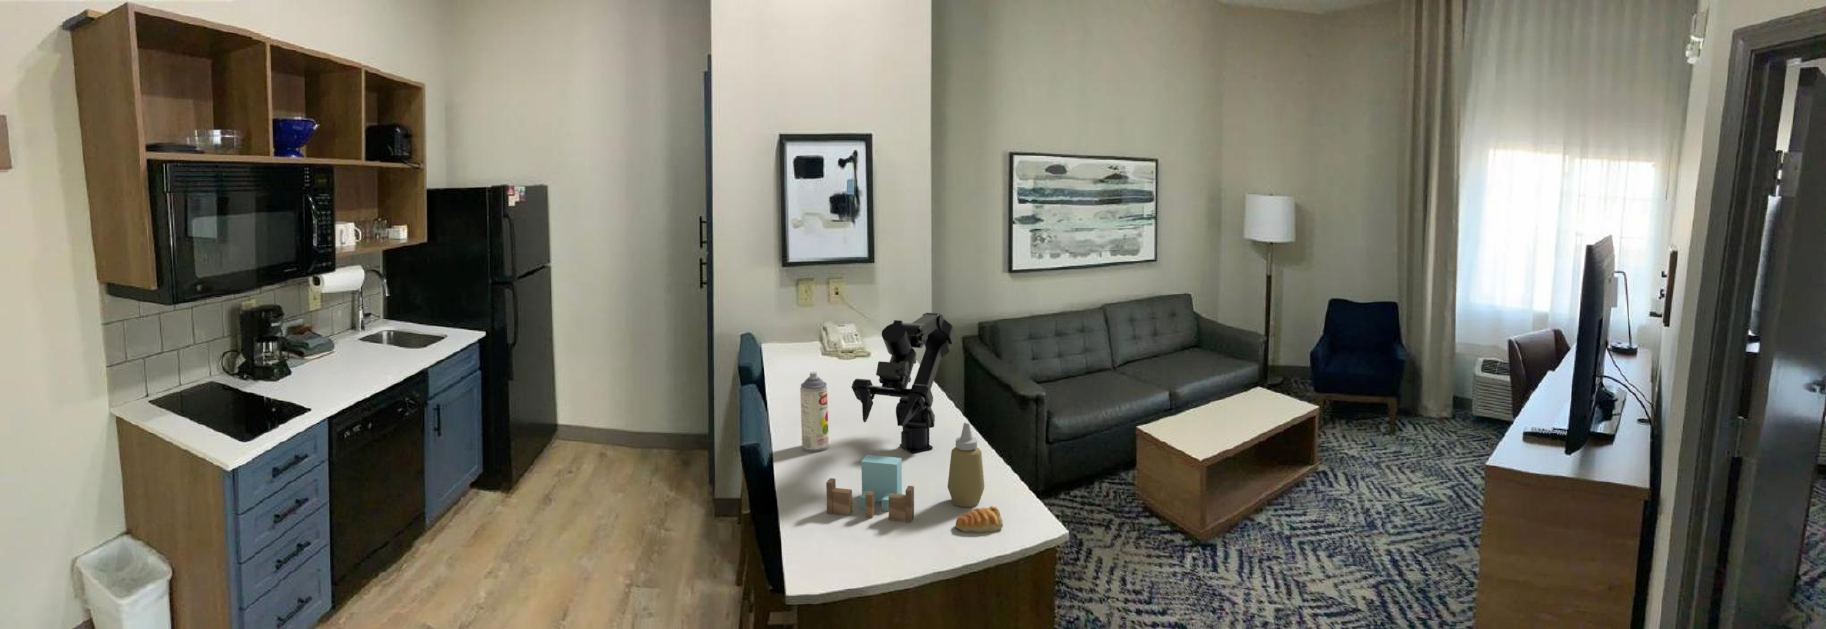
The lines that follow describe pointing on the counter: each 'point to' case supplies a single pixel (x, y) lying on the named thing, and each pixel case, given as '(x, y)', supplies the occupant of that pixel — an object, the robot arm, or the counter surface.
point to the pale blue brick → (881, 478)
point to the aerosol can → (814, 414)
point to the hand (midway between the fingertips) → (882, 423)
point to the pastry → (980, 520)
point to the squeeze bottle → (966, 470)
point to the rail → (870, 502)
